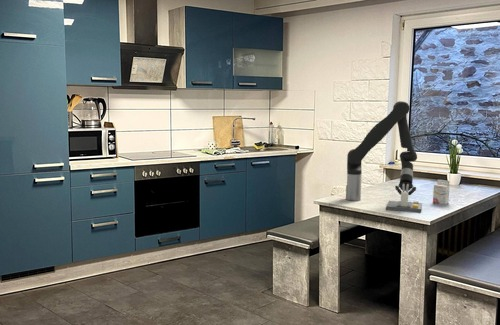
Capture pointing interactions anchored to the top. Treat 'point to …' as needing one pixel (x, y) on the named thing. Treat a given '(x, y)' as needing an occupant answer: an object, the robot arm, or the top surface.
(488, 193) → the top surface
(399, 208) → the switch panel
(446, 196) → the ink cartridge box
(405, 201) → the switch tab
